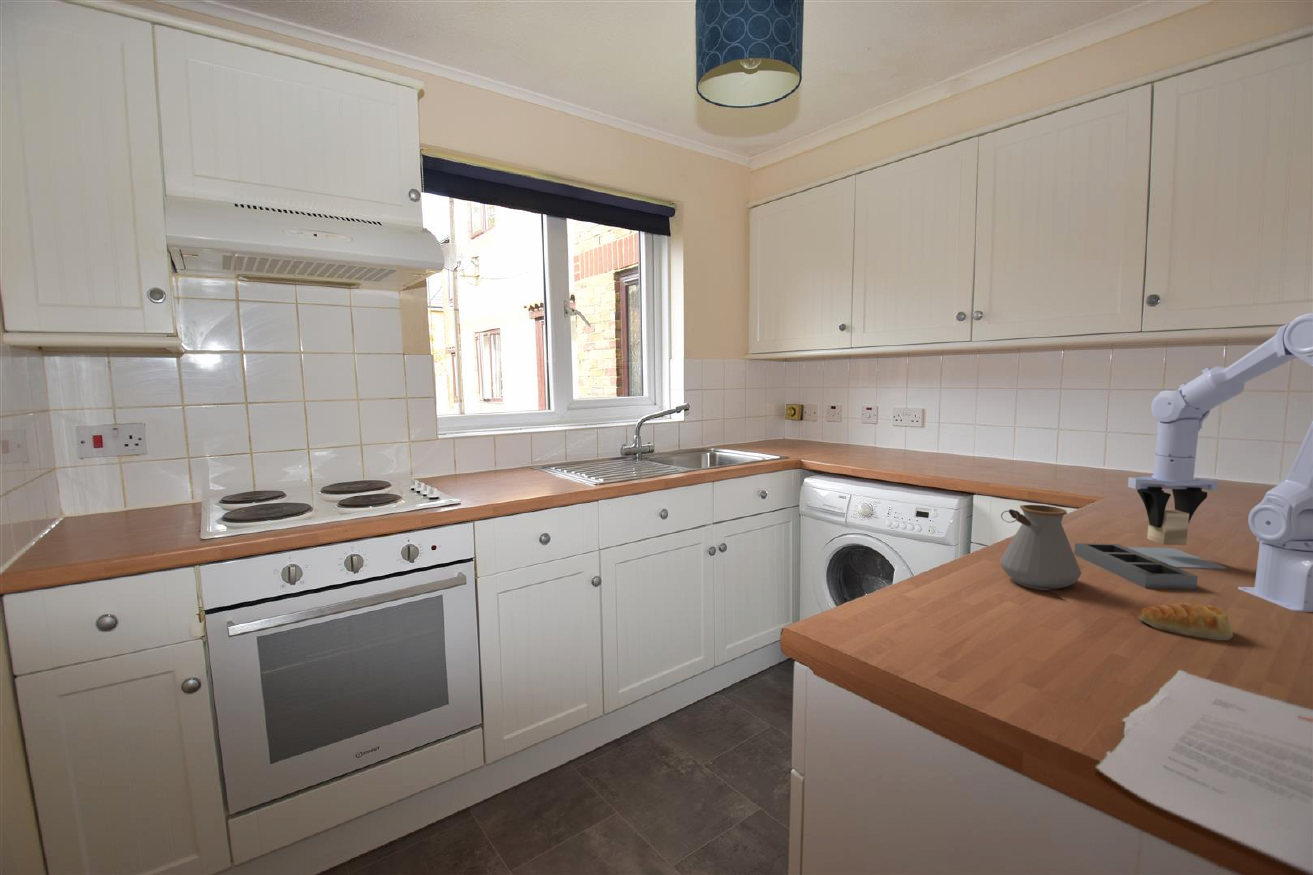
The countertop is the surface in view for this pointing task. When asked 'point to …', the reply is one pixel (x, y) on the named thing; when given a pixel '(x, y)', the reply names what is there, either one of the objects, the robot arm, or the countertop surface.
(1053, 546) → the coffee pot
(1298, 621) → the countertop surface
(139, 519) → the countertop surface
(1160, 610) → the pastry
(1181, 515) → the peg
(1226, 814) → the countertop surface
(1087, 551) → the tray
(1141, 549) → the mat
